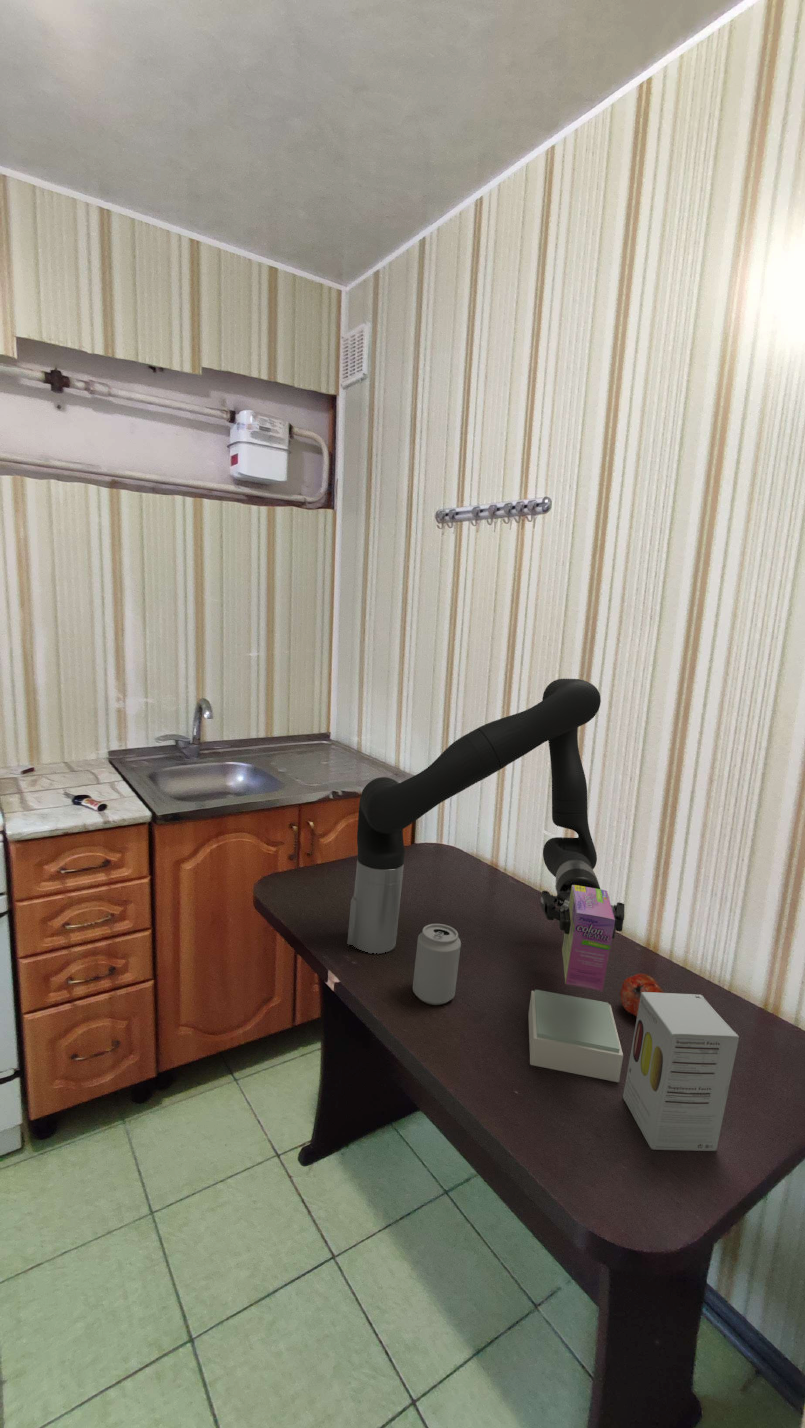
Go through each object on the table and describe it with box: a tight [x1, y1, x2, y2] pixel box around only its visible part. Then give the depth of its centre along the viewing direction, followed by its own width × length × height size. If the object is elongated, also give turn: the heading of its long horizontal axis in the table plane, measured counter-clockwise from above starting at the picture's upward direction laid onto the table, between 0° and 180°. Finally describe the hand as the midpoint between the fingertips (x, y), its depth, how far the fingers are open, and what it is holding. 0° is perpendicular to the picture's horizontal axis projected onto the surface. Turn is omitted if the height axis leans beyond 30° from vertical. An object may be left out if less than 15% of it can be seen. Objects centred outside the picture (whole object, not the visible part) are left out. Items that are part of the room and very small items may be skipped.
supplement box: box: [622, 992, 740, 1152], centre depth 87 cm, size 10×9×17 cm
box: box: [561, 885, 615, 992], centre depth 101 cm, size 10×6×12 cm, turn 169°
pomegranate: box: [619, 973, 665, 1018], centre depth 114 cm, size 7×7×10 cm
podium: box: [527, 989, 624, 1083], centre depth 103 cm, size 13×13×5 cm
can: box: [412, 923, 462, 1006], centre depth 113 cm, size 8×8×12 cm
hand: (588, 931), depth 100 cm, fingers closed on box, 5 cm apart
